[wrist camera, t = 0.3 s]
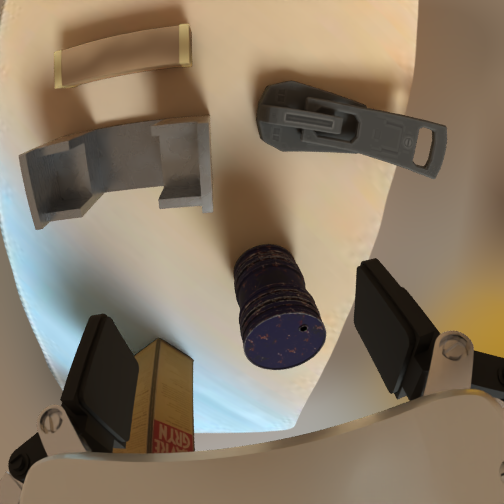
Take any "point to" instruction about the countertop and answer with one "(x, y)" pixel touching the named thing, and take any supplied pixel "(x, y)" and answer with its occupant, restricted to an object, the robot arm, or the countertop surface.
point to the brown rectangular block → (124, 55)
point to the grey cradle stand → (120, 167)
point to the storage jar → (276, 309)
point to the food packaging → (162, 402)
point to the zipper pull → (343, 127)
